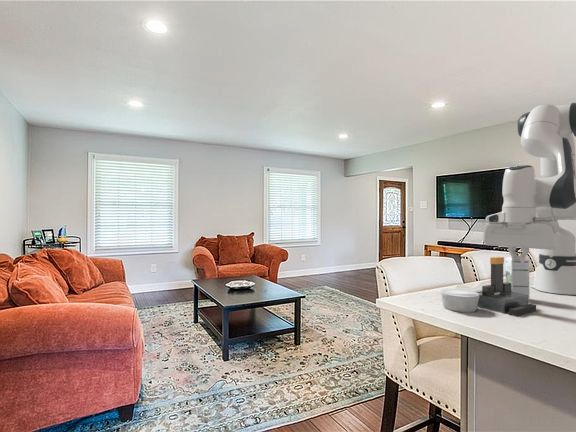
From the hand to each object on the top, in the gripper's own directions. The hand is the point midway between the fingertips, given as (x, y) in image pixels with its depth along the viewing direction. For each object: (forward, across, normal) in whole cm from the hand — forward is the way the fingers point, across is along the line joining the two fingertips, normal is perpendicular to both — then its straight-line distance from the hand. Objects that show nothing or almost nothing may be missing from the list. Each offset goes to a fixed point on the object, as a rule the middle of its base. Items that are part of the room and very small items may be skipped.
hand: (518, 262), depth 108 cm
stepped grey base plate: (+15, +7, 0) cm, 16 cm away
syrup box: (+15, +9, -17) cm, 24 cm away
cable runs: (+15, +8, +1) cm, 17 cm away
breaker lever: (+10, +6, 0) cm, 12 cm away
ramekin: (+15, +11, +13) cm, 23 cm away
